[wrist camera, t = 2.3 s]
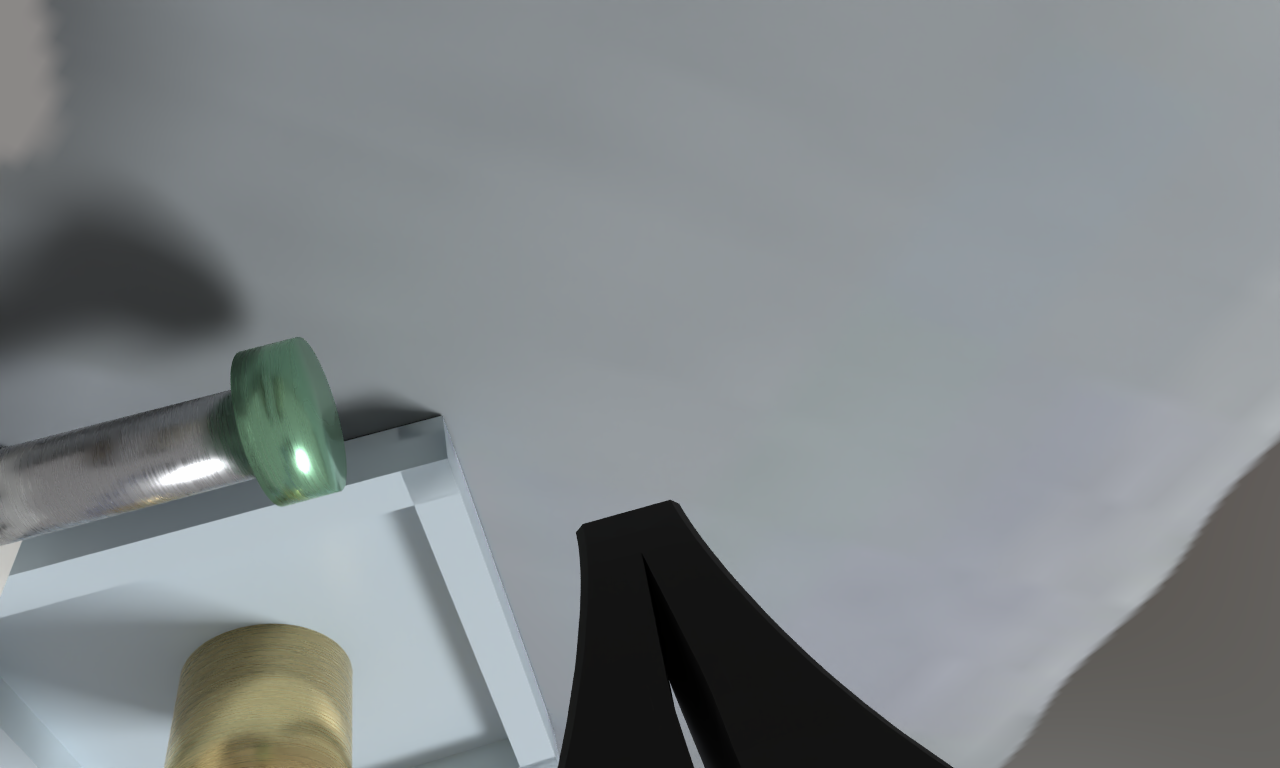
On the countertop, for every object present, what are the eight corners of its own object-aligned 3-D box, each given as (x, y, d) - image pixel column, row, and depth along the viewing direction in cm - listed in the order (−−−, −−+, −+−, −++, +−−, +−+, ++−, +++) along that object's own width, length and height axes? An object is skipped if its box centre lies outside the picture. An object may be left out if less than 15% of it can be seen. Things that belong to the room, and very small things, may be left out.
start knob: (347, 426, 19) (346, 524, 17) (-21, 522, 18) (-73, 637, 16) (295, 307, 17) (286, 398, 15) (-112, 409, 17) (-184, 520, 14)
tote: (553, 731, 29) (562, 776, 28) (135, 856, 28) (125, 908, 26) (442, 415, 21) (447, 458, 20) (-136, 567, 20) (-166, 622, 19)
